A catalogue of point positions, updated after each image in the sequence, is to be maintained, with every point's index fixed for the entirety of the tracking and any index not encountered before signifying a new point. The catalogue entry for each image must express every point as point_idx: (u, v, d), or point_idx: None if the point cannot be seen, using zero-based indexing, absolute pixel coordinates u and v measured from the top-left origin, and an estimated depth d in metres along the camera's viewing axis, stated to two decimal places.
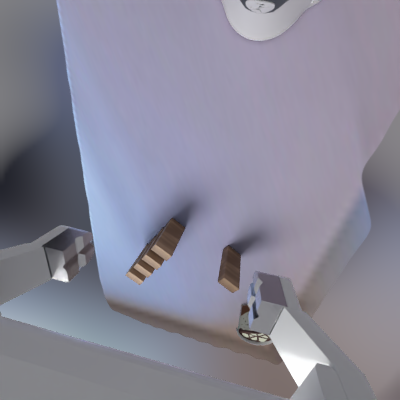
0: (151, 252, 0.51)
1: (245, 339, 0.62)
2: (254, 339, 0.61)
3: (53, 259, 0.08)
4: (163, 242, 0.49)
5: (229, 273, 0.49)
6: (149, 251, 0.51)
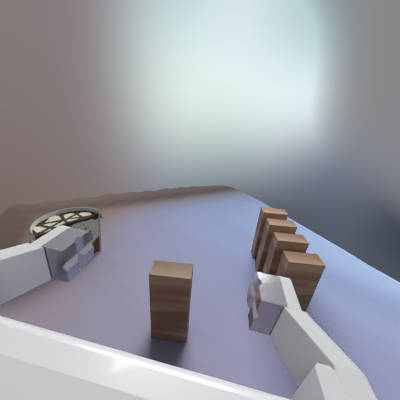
0: (300, 250, 0.32)
1: (82, 209, 0.40)
2: (67, 214, 0.39)
3: (53, 259, 0.08)
4: (310, 275, 0.27)
5: (177, 292, 0.23)
6: (304, 250, 0.32)
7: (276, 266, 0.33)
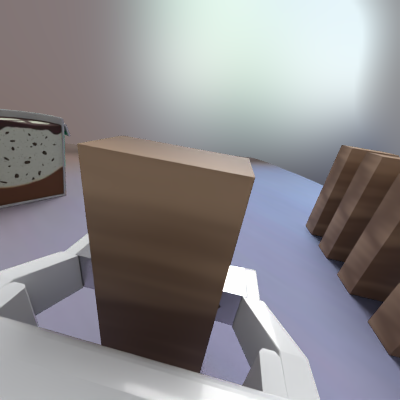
0: None
1: (38, 117, 0.24)
2: (8, 119, 0.23)
3: (87, 267, 0.08)
4: None
5: (188, 240, 0.06)
6: None
7: None
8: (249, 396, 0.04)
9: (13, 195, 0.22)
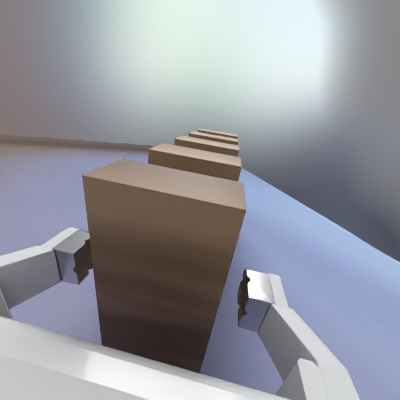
0: None
1: None
2: None
3: (63, 262, 0.08)
4: None
5: (184, 262, 0.07)
6: None
7: None
8: (249, 396, 0.04)
9: None
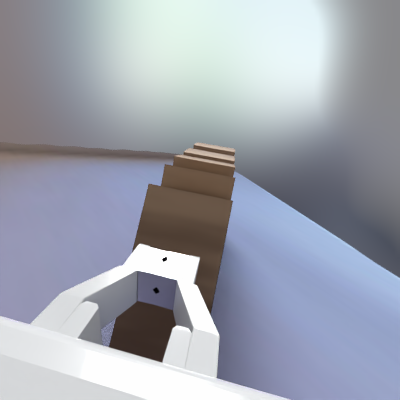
0: None
1: None
2: None
3: (144, 282, 0.08)
4: None
5: (198, 237, 0.11)
6: None
7: None
8: (249, 396, 0.04)
9: None
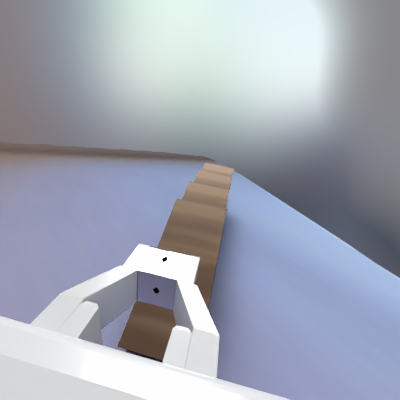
0: (223, 183, 0.27)
1: None
2: None
3: (144, 282, 0.08)
4: (213, 200, 0.22)
5: (206, 227, 0.17)
6: (227, 183, 0.27)
7: None
8: (249, 396, 0.04)
9: None
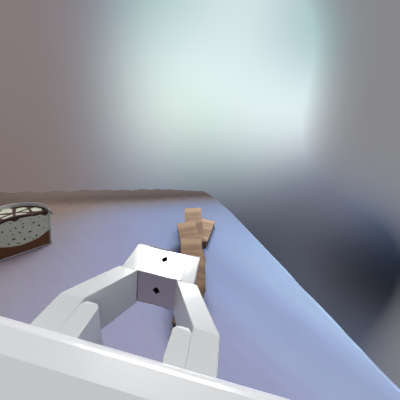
0: (192, 225, 0.52)
1: (35, 204, 0.45)
2: (20, 208, 0.44)
3: (144, 282, 0.08)
4: (195, 246, 0.46)
5: None
6: (194, 225, 0.53)
7: None
8: (249, 396, 0.04)
9: (22, 248, 0.44)
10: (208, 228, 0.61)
